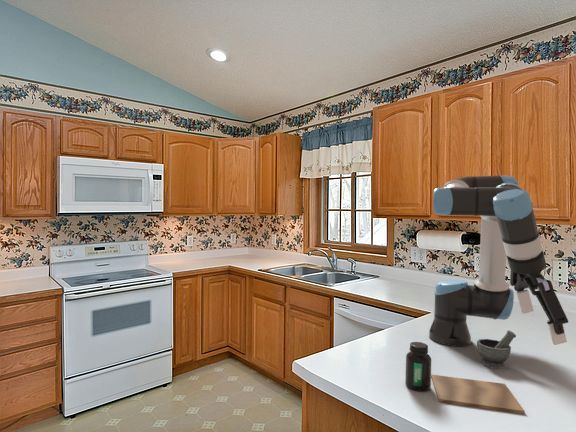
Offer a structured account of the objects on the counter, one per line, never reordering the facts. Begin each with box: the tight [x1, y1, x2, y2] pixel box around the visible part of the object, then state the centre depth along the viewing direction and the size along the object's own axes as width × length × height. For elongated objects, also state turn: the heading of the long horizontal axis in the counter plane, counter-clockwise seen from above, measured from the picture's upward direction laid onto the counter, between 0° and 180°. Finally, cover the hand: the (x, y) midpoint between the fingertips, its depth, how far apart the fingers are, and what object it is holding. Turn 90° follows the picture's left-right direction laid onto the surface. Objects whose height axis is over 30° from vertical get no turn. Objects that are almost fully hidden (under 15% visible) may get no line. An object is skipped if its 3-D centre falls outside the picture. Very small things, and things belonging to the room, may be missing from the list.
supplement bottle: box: [404, 341, 432, 392], centre depth 104 cm, size 7×7×12 cm
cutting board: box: [431, 374, 526, 415], centre depth 100 cm, size 20×15×1 cm
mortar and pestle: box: [476, 330, 517, 370], centre depth 120 cm, size 11×9×12 cm
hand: (542, 326), depth 92 cm, fingers open, 13 cm apart
